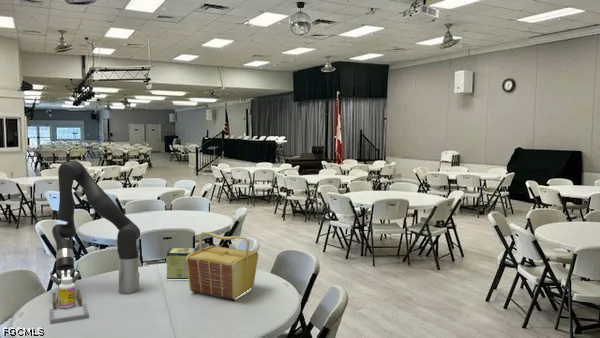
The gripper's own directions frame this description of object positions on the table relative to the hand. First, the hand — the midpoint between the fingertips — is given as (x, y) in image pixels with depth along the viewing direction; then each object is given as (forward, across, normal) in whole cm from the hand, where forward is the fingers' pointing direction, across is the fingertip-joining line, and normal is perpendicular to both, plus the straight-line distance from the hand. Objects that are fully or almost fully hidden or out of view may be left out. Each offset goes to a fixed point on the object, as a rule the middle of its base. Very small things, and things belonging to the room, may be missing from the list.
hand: (66, 292), depth 212 cm
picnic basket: (+14, +71, -7) cm, 72 cm away
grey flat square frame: (+15, +1, -8) cm, 17 cm away
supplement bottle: (+6, 0, +1) cm, 6 cm away
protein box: (-8, +58, +15) cm, 61 cm away
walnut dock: (+4, 0, +3) cm, 5 cm away
